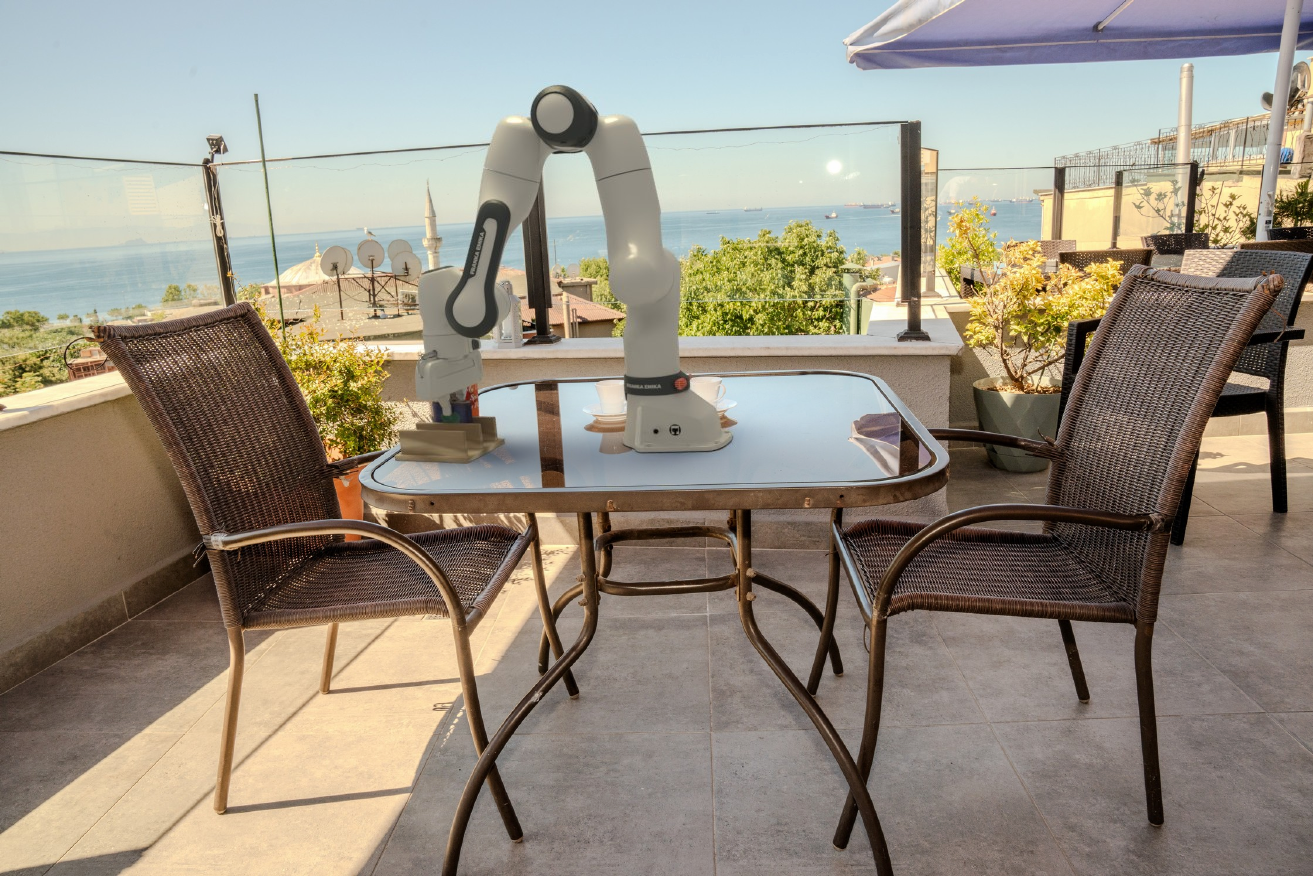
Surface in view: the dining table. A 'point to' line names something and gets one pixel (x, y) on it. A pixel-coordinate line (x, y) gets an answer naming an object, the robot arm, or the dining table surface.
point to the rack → (449, 441)
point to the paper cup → (473, 398)
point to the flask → (460, 411)
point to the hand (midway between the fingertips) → (454, 412)
